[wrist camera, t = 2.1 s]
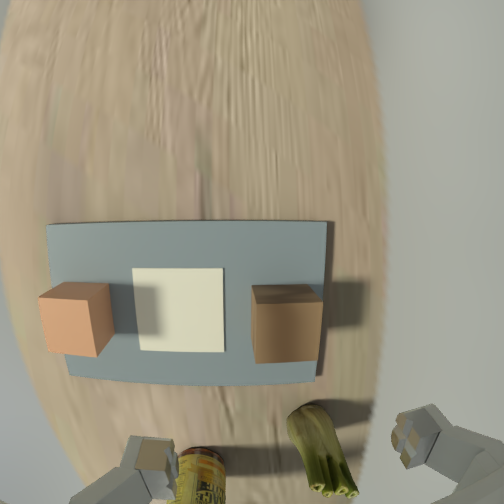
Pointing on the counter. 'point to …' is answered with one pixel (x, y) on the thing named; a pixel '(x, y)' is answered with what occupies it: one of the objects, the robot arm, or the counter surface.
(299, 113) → the counter surface
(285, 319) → the walnut block
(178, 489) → the sauce bottle
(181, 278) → the build board
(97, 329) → the terracotta block
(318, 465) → the fennel bulb
